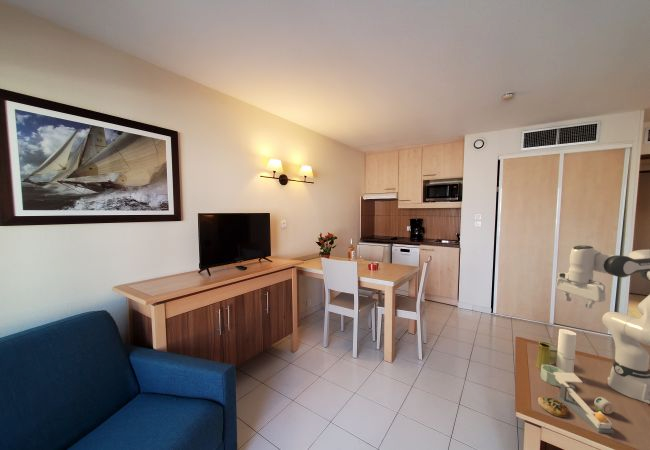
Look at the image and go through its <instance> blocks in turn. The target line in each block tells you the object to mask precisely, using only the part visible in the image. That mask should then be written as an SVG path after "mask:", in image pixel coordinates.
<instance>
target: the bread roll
mask: <svg viewBox="0 0 650 450" xmlns="http://www.w3.org/2000/svg"><path fill="white" fill-rule="evenodd" d="M537 403H538V405H539V406H540V407H541V408H542V409H543V410H545V411H546V412H548V413H550V414H551V415H553V416H556V417H559V418H568V417H569V415H570V411H569V409H568V406H566V405H565V404H564V403H563V402H561V401H560V400H559V399H557V398H556V399H555V398H553V397H548V396H540V397H537Z"/></svg>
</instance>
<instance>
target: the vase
mask: <svg viewBox="0 0 650 450" xmlns="http://www.w3.org/2000/svg"><path fill="white" fill-rule="evenodd" d="M537 348H538V349H537V357H536V364H535V367H536V368H537V369H538V370H540V371H541V366H542V365H551V364H550V346H549V345H547V344H545V343H539V342H538V347H537Z"/></svg>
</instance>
